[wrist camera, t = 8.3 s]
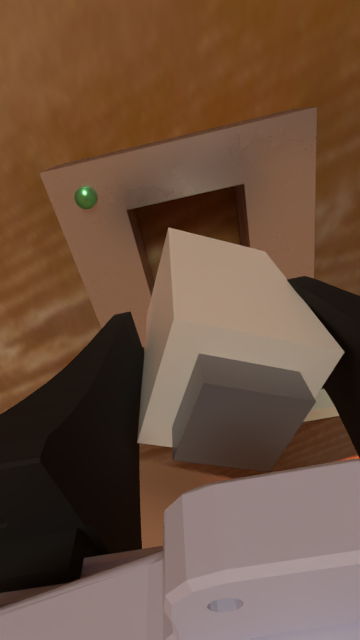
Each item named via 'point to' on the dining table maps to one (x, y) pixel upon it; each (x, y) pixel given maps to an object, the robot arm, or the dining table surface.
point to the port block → (181, 181)
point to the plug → (228, 355)
